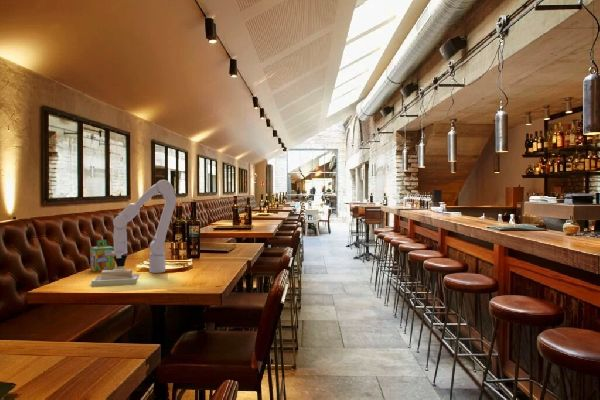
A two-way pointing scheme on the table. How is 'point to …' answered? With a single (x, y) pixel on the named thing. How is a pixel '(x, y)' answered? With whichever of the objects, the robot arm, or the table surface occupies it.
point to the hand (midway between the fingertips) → (120, 271)
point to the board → (122, 284)
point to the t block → (116, 274)
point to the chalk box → (102, 257)
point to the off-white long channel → (114, 282)
